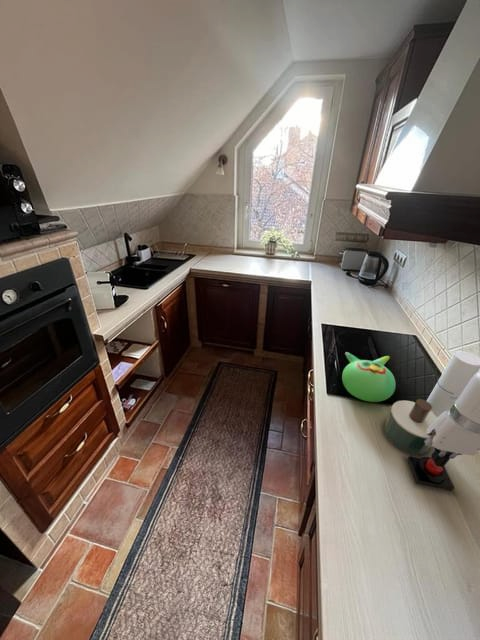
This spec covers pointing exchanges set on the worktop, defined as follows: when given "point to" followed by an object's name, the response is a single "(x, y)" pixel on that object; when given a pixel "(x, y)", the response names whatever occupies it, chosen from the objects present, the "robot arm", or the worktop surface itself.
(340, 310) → the worktop surface
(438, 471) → the button
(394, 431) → the jar
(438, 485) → the block
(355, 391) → the toy bird
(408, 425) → the lid
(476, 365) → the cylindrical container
